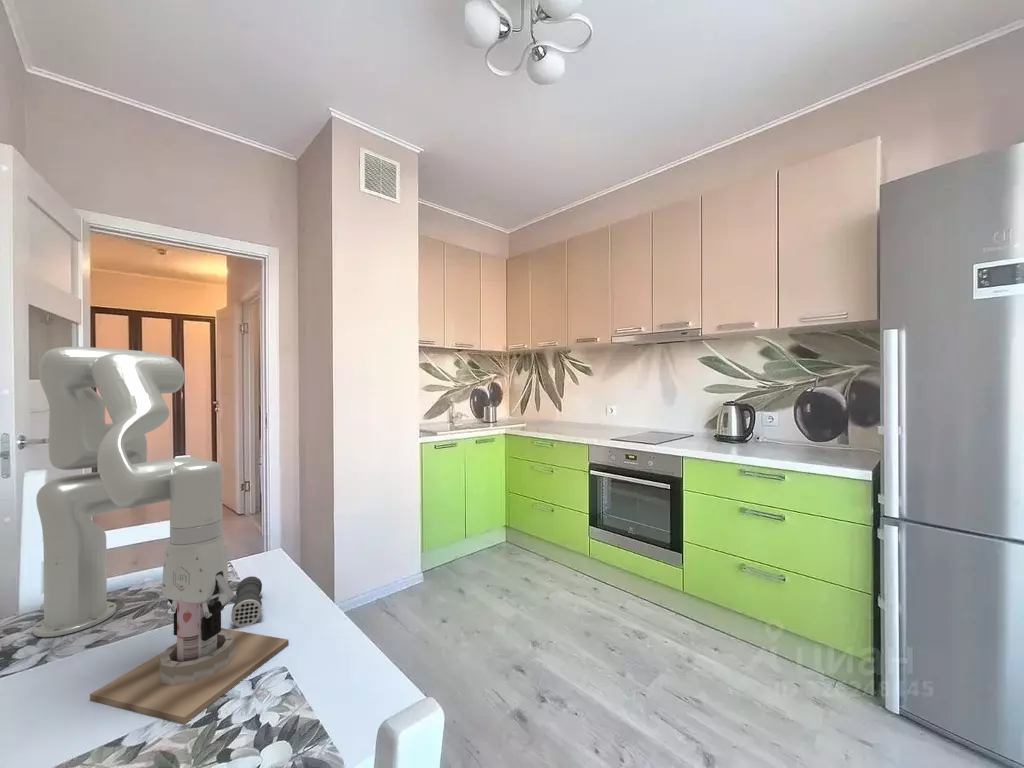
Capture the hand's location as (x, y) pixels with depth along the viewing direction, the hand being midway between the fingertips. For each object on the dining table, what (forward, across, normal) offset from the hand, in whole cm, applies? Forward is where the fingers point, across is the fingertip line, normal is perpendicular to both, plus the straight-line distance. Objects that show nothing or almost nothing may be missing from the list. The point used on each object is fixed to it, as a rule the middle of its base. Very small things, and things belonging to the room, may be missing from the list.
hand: (197, 632), depth 75 cm
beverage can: (+5, 0, 0) cm, 5 cm away
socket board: (+7, 0, 0) cm, 7 cm away
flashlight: (+7, -9, +19) cm, 22 cm away
